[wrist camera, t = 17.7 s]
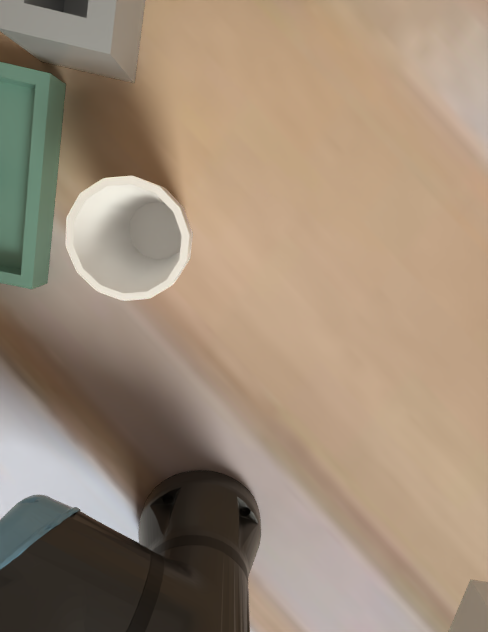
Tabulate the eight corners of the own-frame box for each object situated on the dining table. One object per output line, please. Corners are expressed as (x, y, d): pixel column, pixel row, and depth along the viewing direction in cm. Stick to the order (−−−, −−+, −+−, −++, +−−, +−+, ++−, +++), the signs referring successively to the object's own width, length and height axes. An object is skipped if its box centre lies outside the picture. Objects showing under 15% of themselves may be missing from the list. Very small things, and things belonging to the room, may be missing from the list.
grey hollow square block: (134, 83, 41) (110, 54, 33) (41, 61, 40) (-6, 26, 32) (148, -23, 39) (125, -81, 31) (49, -48, 38) (1, -113, 30)
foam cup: (95, 228, 44) (39, 236, 32) (156, 164, 43) (122, 147, 30) (160, 292, 46) (131, 324, 34) (221, 233, 45) (214, 244, 32)
